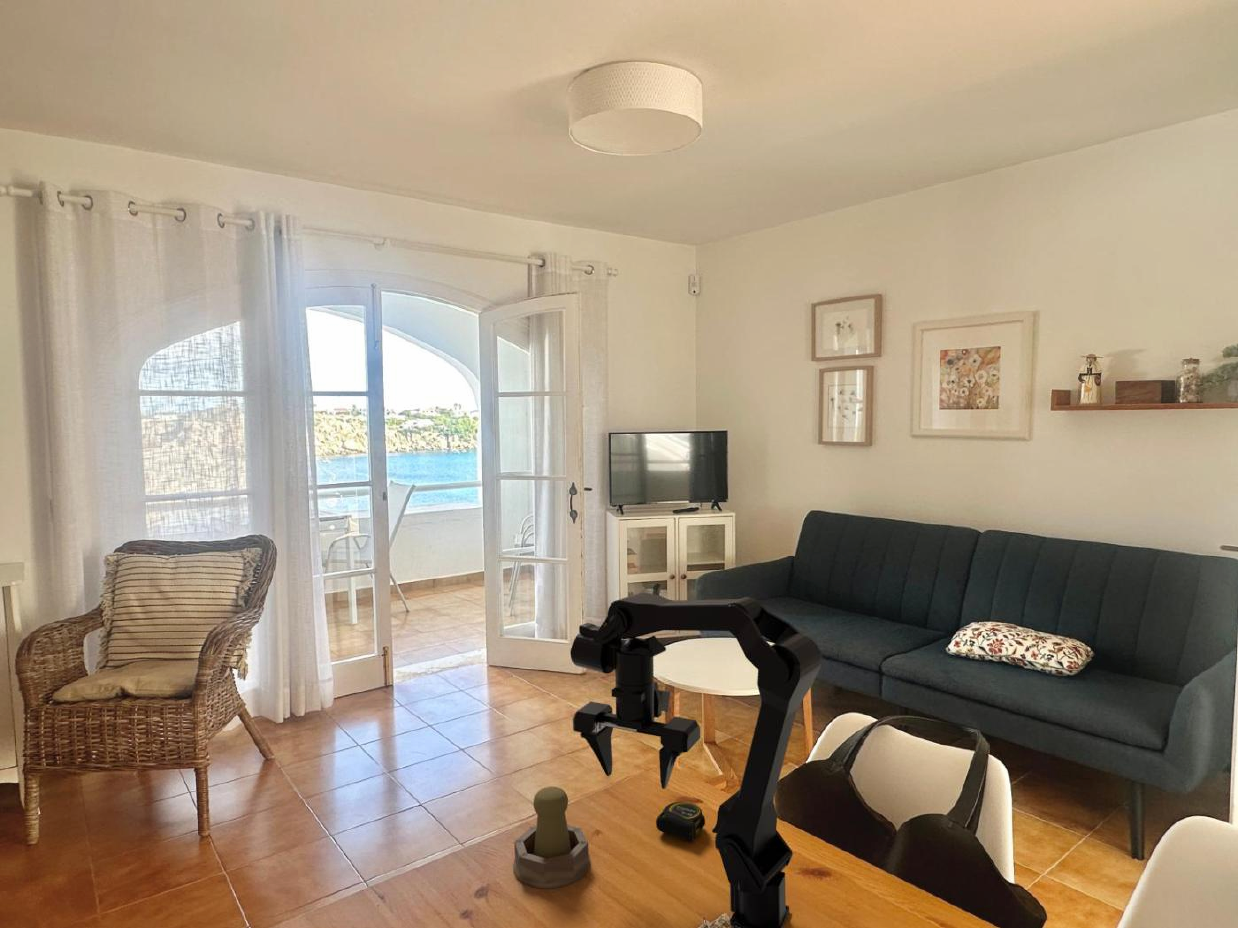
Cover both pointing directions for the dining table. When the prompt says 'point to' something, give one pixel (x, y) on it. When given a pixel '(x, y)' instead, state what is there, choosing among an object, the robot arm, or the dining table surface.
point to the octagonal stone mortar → (551, 861)
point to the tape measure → (681, 820)
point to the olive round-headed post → (551, 823)
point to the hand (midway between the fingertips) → (636, 781)
